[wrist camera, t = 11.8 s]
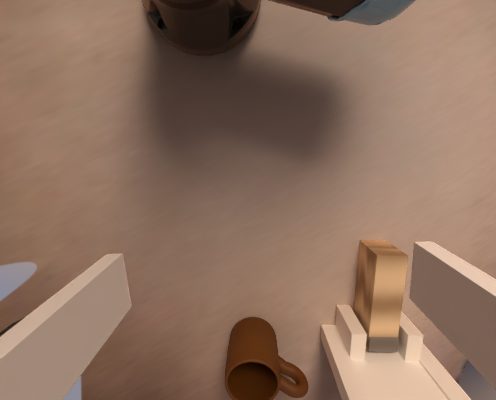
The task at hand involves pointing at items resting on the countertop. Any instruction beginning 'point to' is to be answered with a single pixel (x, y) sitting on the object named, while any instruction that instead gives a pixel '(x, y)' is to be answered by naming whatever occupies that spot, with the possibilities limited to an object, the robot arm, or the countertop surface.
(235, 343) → the mug
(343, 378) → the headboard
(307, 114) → the countertop surface
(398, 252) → the wooden block
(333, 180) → the countertop surface
